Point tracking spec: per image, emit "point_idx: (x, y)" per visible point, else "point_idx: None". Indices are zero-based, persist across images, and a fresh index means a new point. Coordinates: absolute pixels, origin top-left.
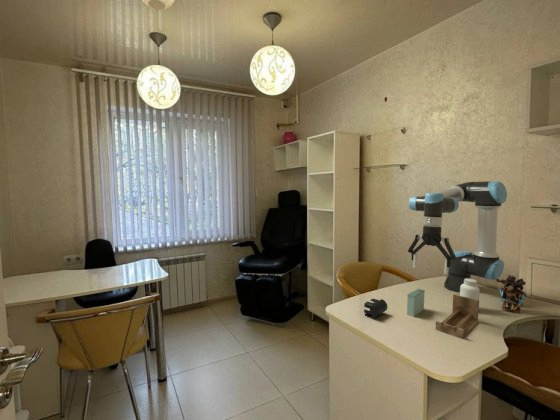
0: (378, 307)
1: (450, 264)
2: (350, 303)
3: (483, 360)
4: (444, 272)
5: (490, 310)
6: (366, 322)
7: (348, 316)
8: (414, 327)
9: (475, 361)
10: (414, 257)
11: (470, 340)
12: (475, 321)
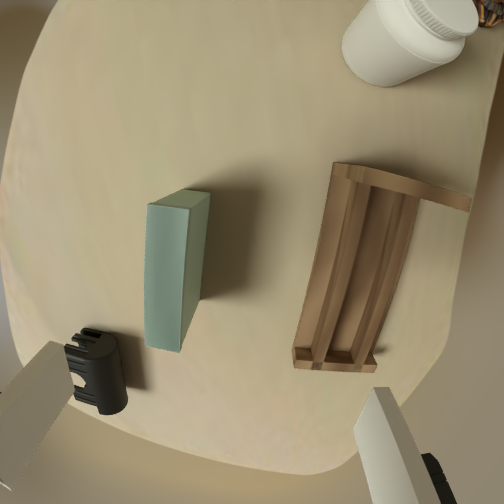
0: (115, 405)
1: (437, 481)
2: (23, 317)
3: None
4: (359, 442)
5: None
6: None
7: None
8: (231, 374)
9: None
10: (19, 464)
11: (385, 349)
12: (414, 209)
